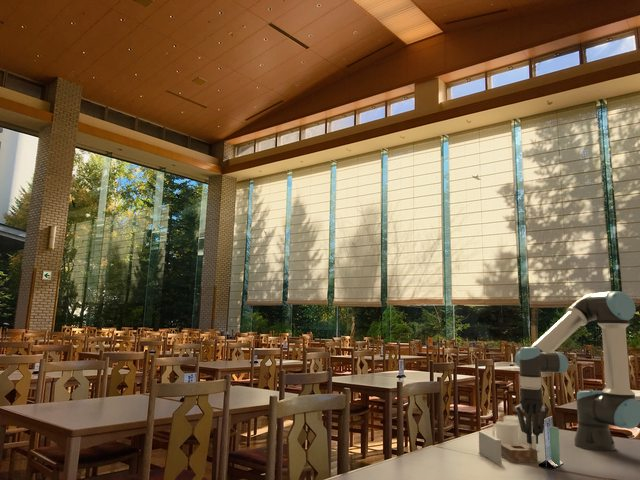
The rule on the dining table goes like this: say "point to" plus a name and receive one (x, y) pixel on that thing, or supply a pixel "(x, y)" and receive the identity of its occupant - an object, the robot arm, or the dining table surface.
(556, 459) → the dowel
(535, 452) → the block
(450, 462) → the dining table surface
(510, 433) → the cup
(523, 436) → the mug
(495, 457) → the wall
